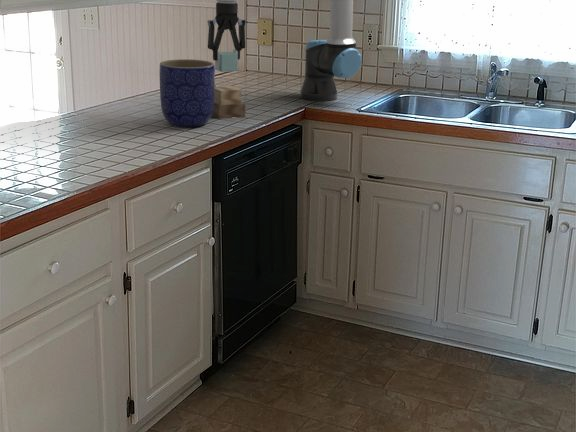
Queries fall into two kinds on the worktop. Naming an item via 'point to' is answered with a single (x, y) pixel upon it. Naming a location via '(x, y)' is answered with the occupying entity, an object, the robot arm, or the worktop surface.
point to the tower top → (227, 95)
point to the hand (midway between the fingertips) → (226, 69)
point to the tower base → (228, 110)
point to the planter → (187, 91)
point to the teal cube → (228, 62)
